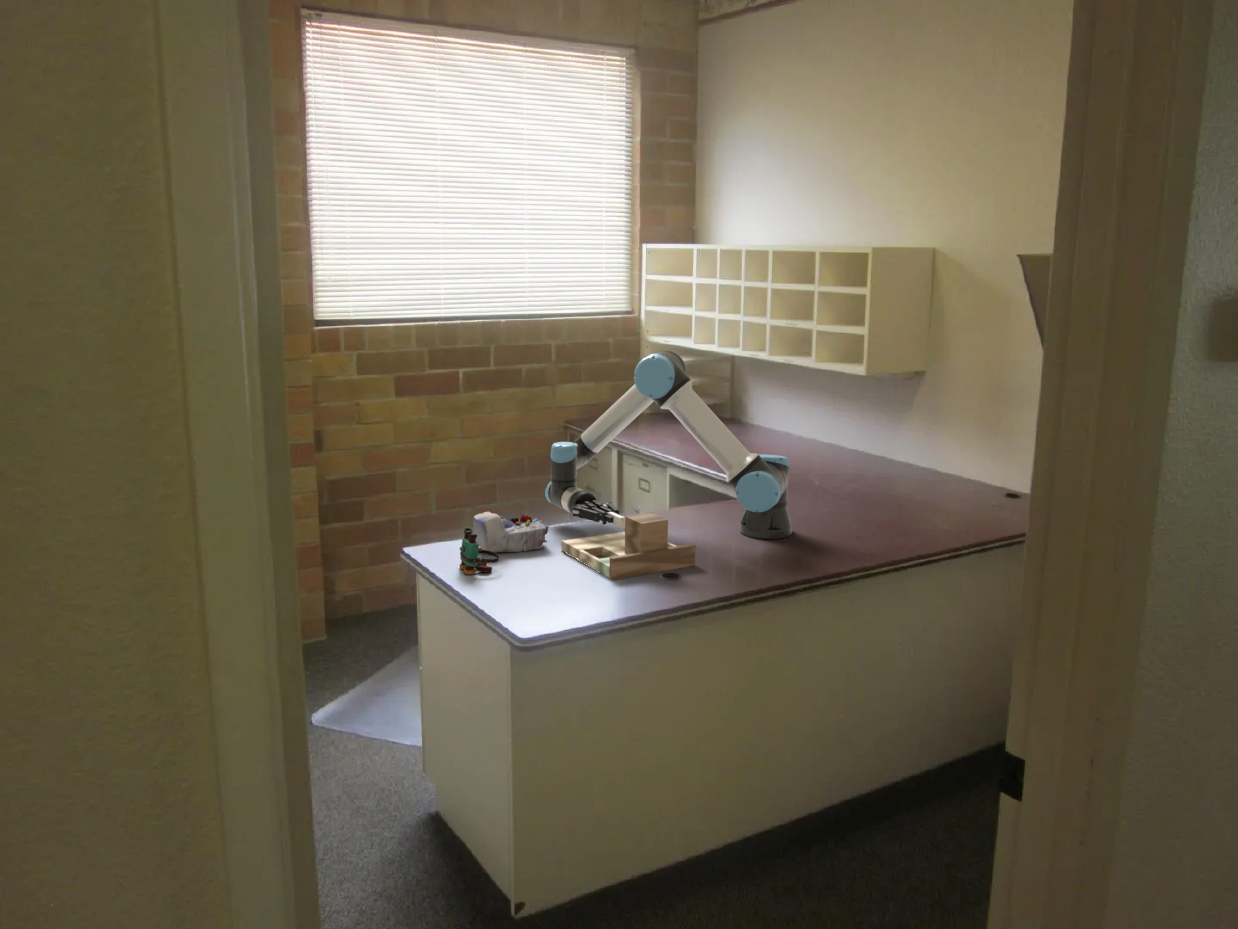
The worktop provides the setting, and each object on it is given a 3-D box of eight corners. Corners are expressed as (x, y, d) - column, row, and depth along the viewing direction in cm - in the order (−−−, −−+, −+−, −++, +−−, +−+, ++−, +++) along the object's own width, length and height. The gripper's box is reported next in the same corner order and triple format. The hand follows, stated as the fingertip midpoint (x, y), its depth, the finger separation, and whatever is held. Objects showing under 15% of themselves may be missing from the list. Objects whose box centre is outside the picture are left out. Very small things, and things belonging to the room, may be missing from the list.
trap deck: (561, 551, 273) (561, 531, 271) (639, 538, 285) (639, 520, 284) (612, 580, 250) (612, 559, 248) (695, 565, 262) (695, 545, 261)
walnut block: (624, 553, 261) (625, 516, 259) (650, 549, 266) (651, 512, 263) (641, 561, 255) (641, 523, 253) (667, 557, 259) (668, 519, 257)
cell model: (467, 509, 273) (533, 501, 284) (467, 547, 275) (532, 538, 286) (487, 519, 262) (555, 511, 273) (487, 559, 264) (554, 550, 275)
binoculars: (504, 535, 252) (466, 535, 248) (500, 575, 254) (462, 576, 250) (494, 526, 260) (456, 526, 256) (490, 565, 262) (453, 566, 258)
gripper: (599, 512, 291) (642, 532, 272) (559, 518, 285) (601, 539, 265) (599, 487, 290) (643, 506, 270) (559, 492, 283) (601, 512, 264)
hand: (622, 522), depth 268 cm, fingers closed
